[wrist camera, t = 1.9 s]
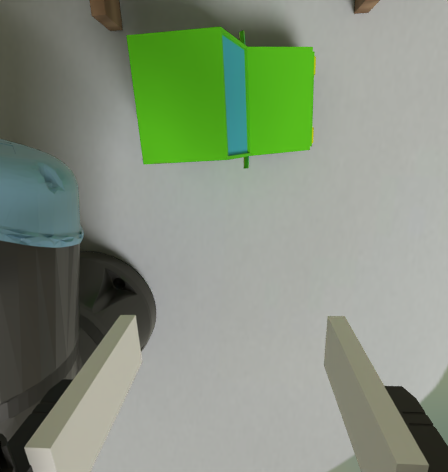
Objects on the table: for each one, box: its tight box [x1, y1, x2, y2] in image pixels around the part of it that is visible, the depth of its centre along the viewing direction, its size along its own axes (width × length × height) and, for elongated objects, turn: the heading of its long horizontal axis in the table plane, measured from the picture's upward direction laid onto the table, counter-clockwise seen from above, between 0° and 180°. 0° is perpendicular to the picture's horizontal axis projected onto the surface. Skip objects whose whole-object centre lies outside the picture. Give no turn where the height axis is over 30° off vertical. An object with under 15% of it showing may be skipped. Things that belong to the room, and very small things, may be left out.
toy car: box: [126, 27, 316, 168], centre depth 25 cm, size 10×13×10 cm
